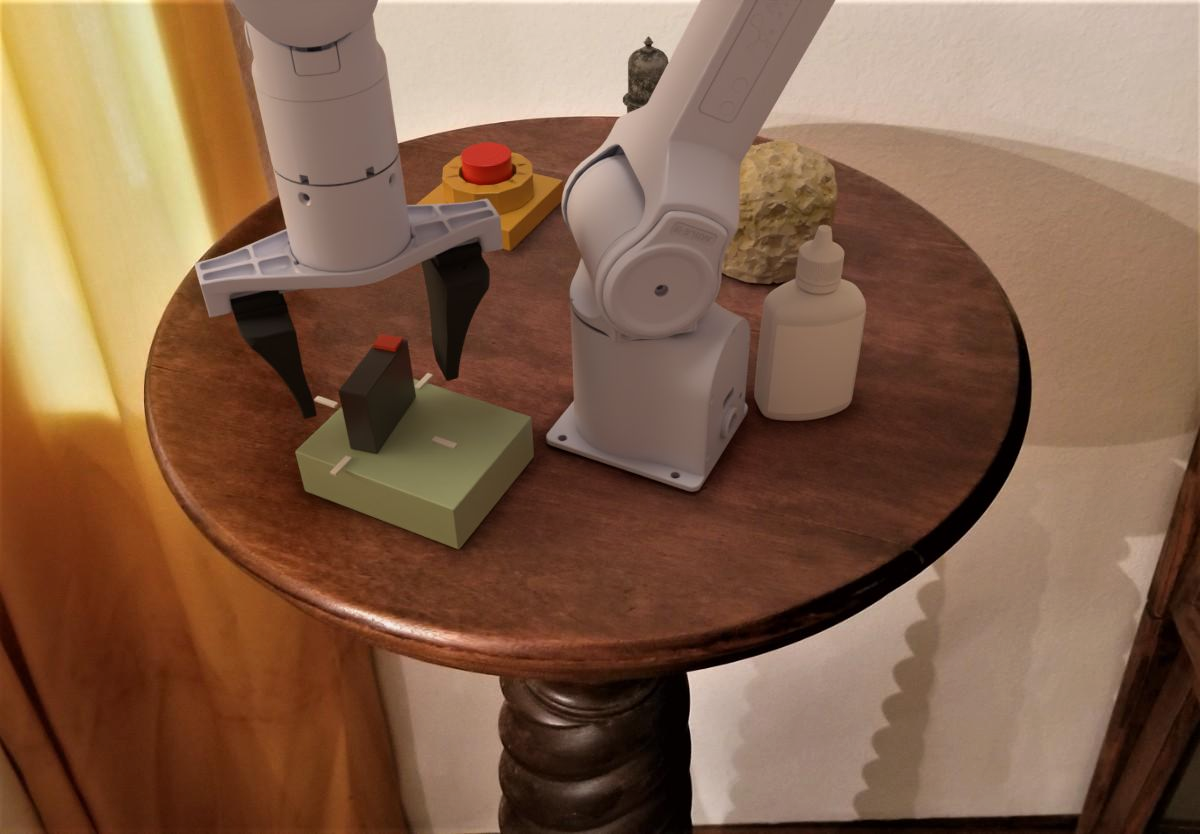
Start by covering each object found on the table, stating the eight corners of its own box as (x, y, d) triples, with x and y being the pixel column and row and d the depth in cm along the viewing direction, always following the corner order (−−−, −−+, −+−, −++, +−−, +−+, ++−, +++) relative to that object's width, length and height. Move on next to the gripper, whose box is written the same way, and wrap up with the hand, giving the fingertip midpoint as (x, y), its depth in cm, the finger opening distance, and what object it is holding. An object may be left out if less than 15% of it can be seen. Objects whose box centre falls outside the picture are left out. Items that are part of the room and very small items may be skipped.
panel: (539, 450, 65) (537, 407, 63) (453, 558, 59) (446, 515, 57) (372, 394, 69) (364, 352, 67) (274, 489, 63) (262, 446, 61)
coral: (711, 292, 77) (717, 191, 72) (687, 221, 84) (690, 125, 79) (845, 281, 78) (861, 180, 73) (810, 212, 85) (821, 116, 80)
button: (521, 170, 84) (520, 148, 83) (496, 192, 81) (495, 170, 80) (479, 159, 85) (477, 138, 84) (453, 181, 83) (451, 159, 82)
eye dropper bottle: (842, 436, 66) (872, 258, 58) (747, 416, 67) (763, 241, 59) (855, 390, 69) (884, 215, 61) (763, 372, 70) (780, 200, 63)
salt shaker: (603, 173, 90) (601, 22, 82) (678, 168, 90) (683, 18, 82) (612, 212, 85) (611, 56, 77) (691, 206, 86) (697, 51, 78)
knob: (377, 454, 61) (365, 392, 58) (350, 448, 61) (337, 387, 58) (416, 396, 64) (407, 336, 62) (390, 391, 65) (380, 330, 62)
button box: (564, 199, 87) (562, 157, 84) (510, 251, 81) (507, 208, 79) (473, 177, 89) (469, 136, 87) (416, 226, 84) (410, 183, 82)
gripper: (461, 91, 57) (483, 314, 66) (161, 149, 53) (227, 379, 62) (508, 153, 52) (525, 385, 61) (181, 221, 48) (250, 460, 57)
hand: (378, 387), depth 61 cm, fingers open, 7 cm apart
